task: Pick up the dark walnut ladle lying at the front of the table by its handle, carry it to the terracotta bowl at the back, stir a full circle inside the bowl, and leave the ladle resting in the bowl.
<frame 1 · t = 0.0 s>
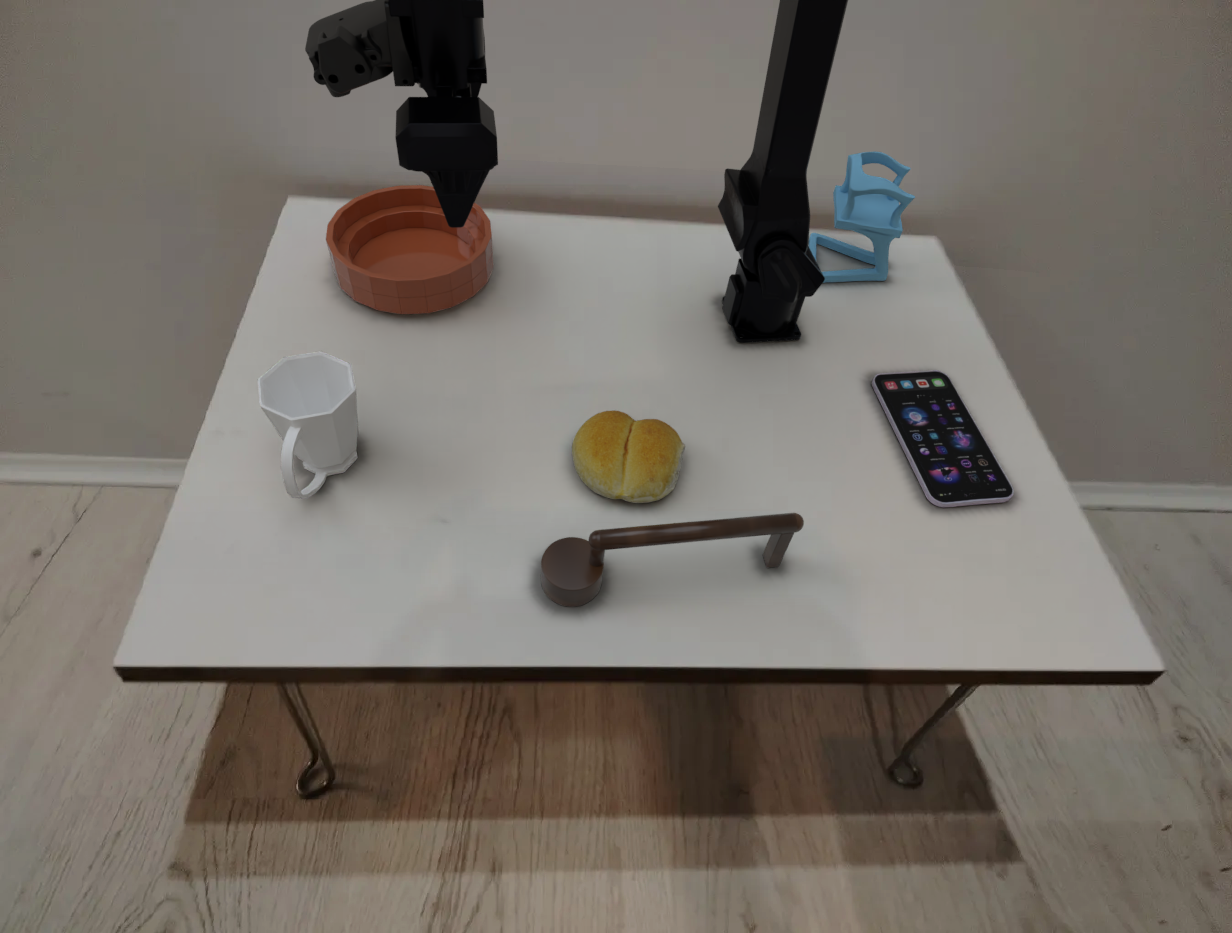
hand: (454, 191, 61), 15 cm above the table, tool pointing down, fingers open, 9 cm apart
bowl: (415, 268, 77), on the table
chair: (846, 267, 83), on the table
smartphone: (936, 437, 68), on the table
bread roll: (628, 466, 64), on the table
ladle: (571, 580, 57), on the table
cup: (325, 471, 61), on the table
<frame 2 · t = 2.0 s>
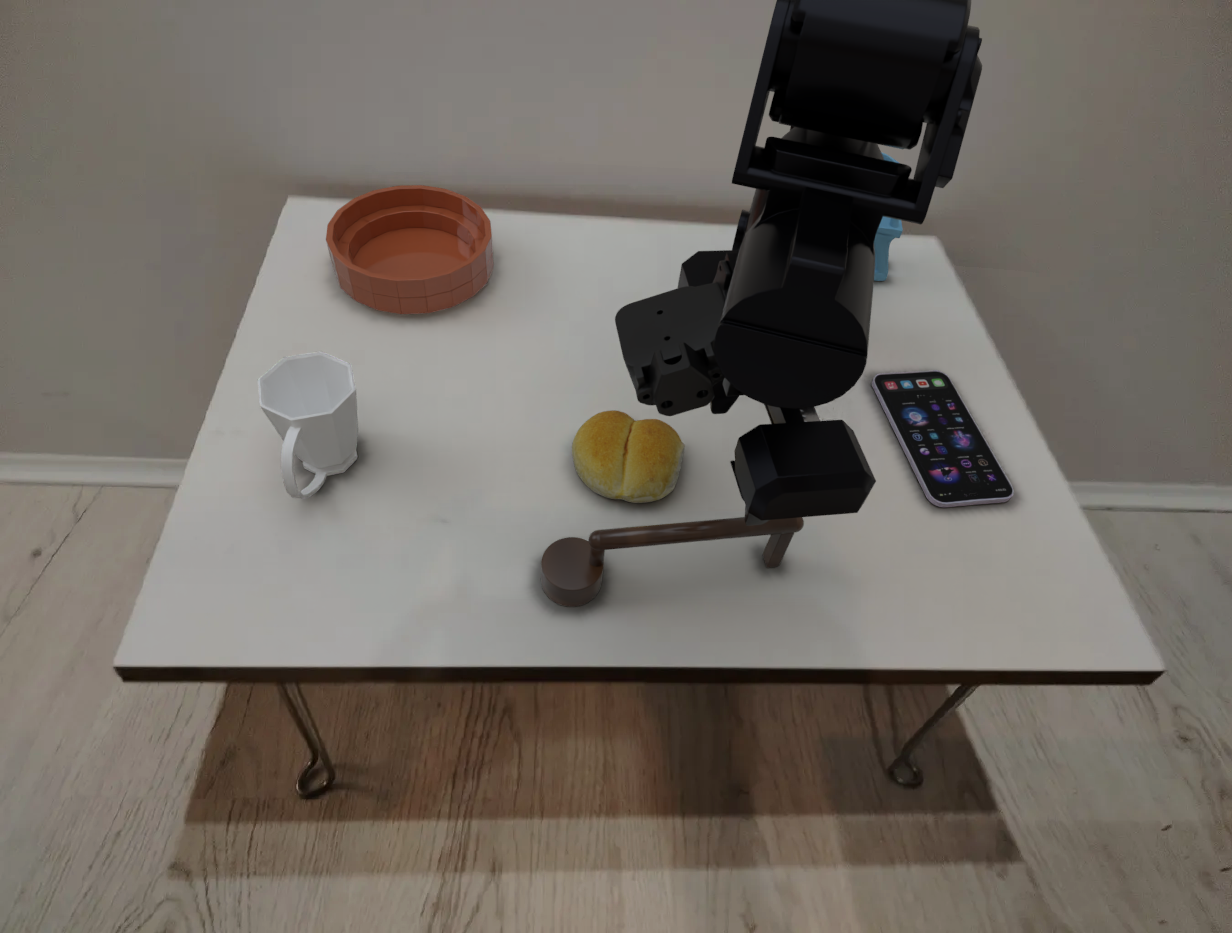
hand: (734, 464, 50), 11 cm above the table, tool pointing down, fingers open, 9 cm apart
nothing on the table moved.
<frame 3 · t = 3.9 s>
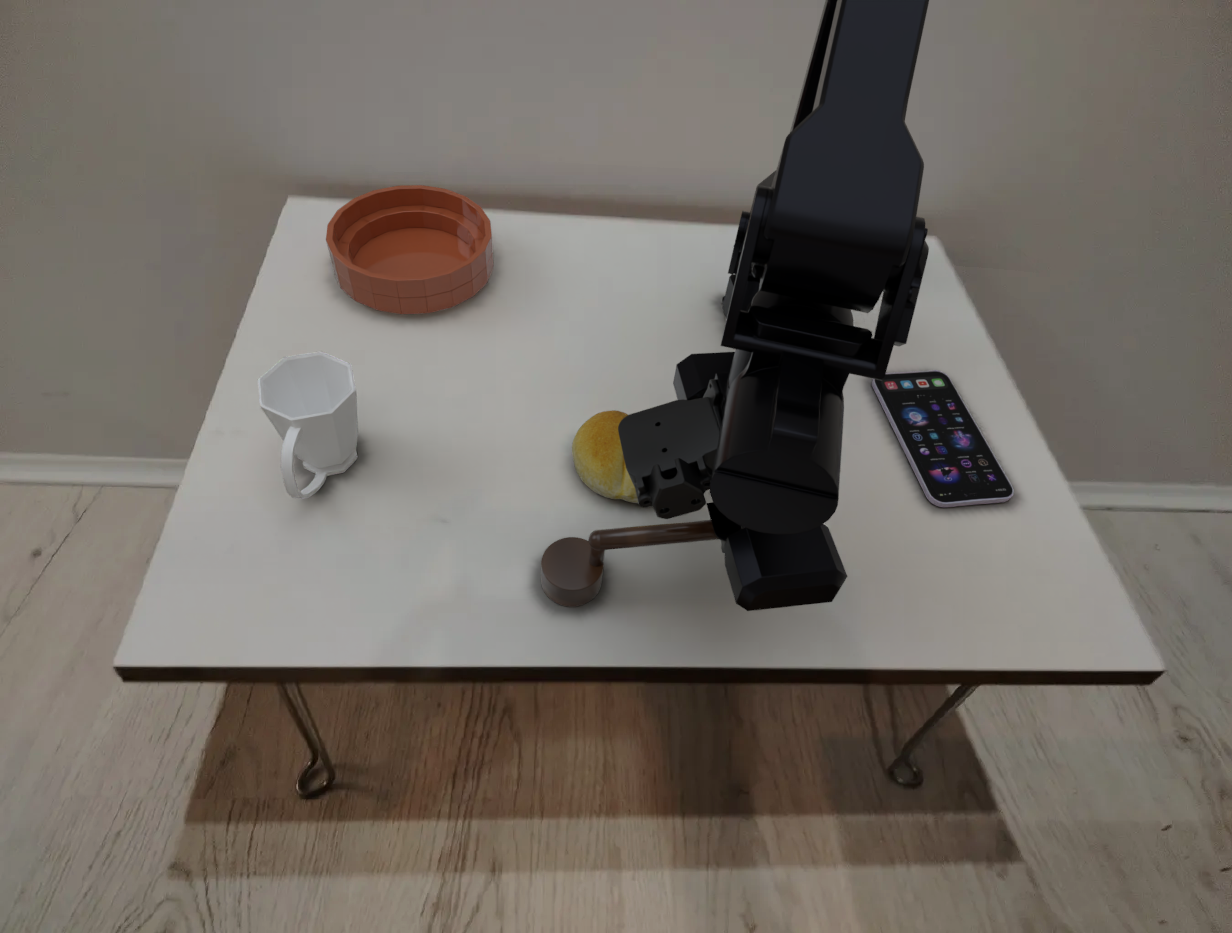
hand: (725, 540, 56), 3 cm above the table, tool pointing down, fingers closed on ladle
ladle: (571, 580, 56), on the table, touching gripper
everything else where it was.
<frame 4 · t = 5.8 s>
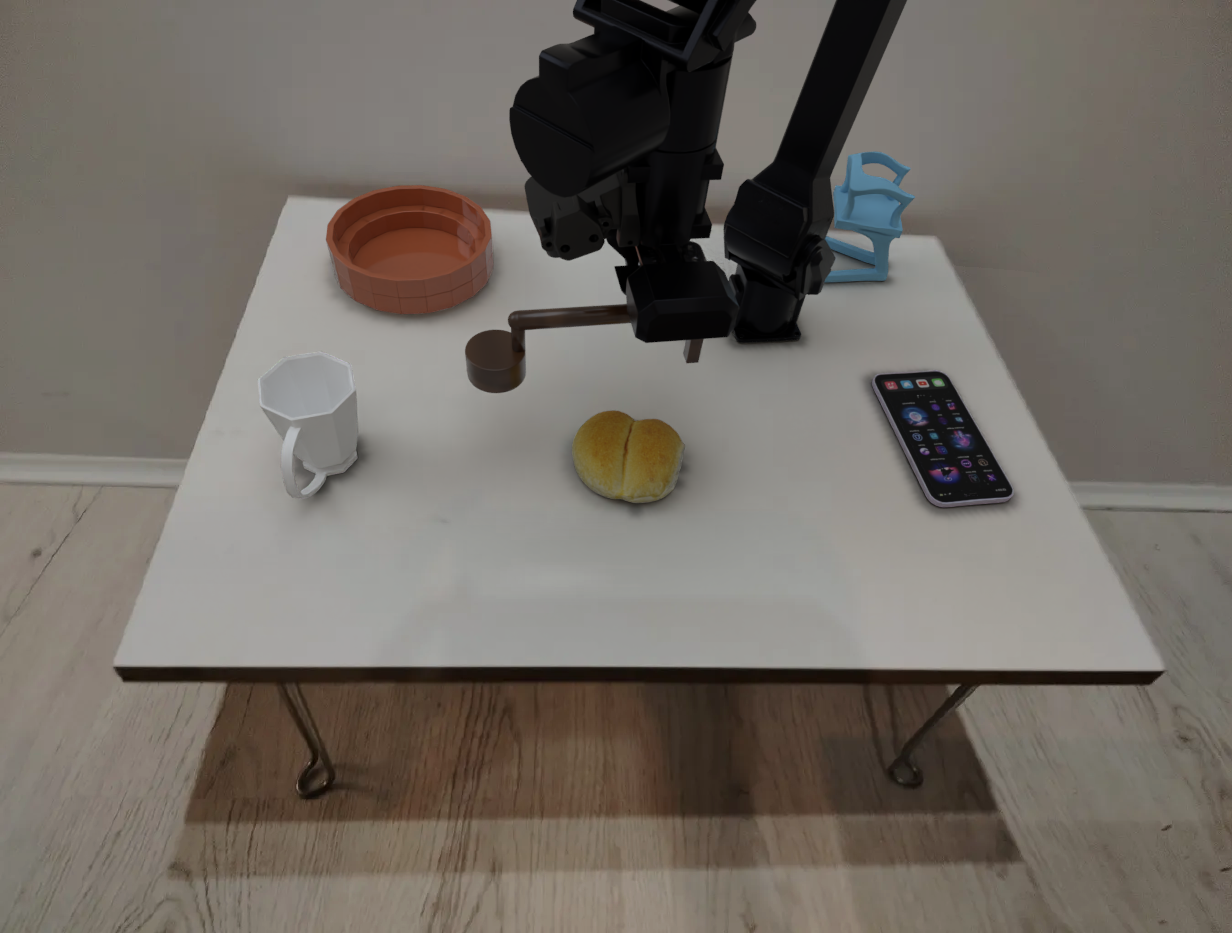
hand: (643, 328, 58), 11 cm above the table, tool pointing down, fingers closed on ladle
ladle: (496, 372, 59), point 7 cm above the table, touching gripper
everything else where it was.
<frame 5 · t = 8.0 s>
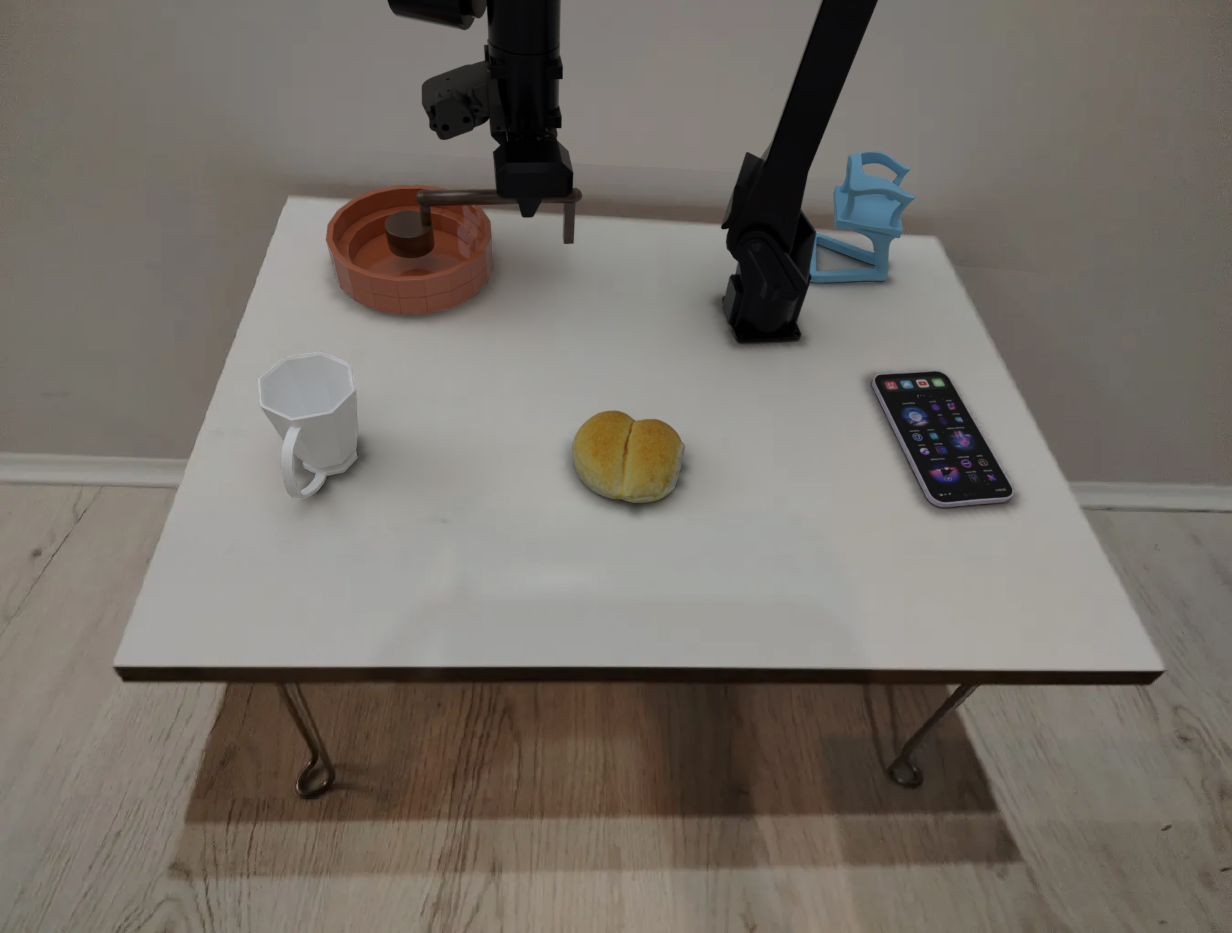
hand: (526, 211, 74), 6 cm above the table, tool pointing down, fingers closed on ladle
ladle: (411, 244, 75), point 3 cm above the table, touching gripper
everything else where it was.
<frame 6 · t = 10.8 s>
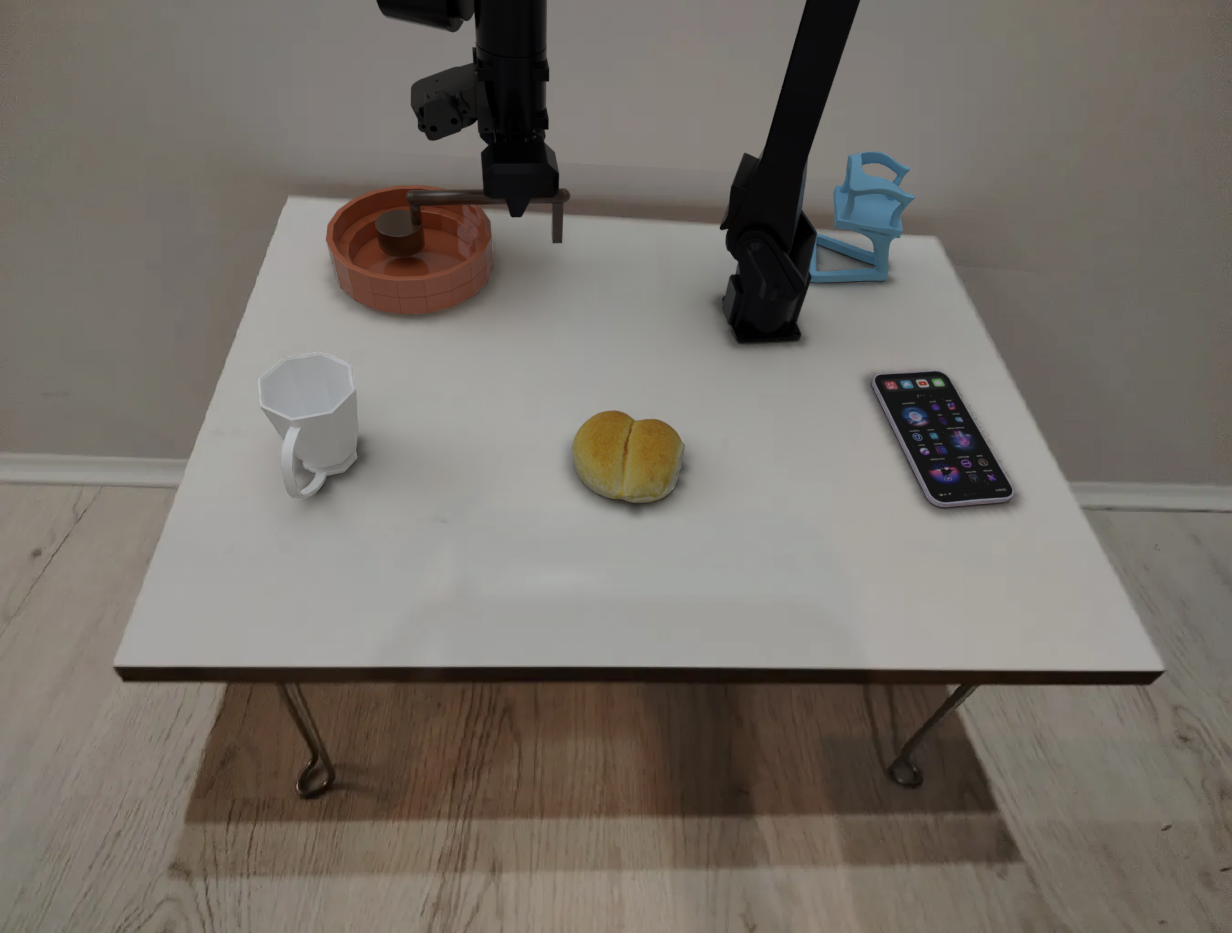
hand: (515, 211, 75), 6 cm above the table, tool pointing down, fingers closed on ladle
ladle: (402, 243, 76), point 2 cm above the table, touching gripper
everything else where it was.
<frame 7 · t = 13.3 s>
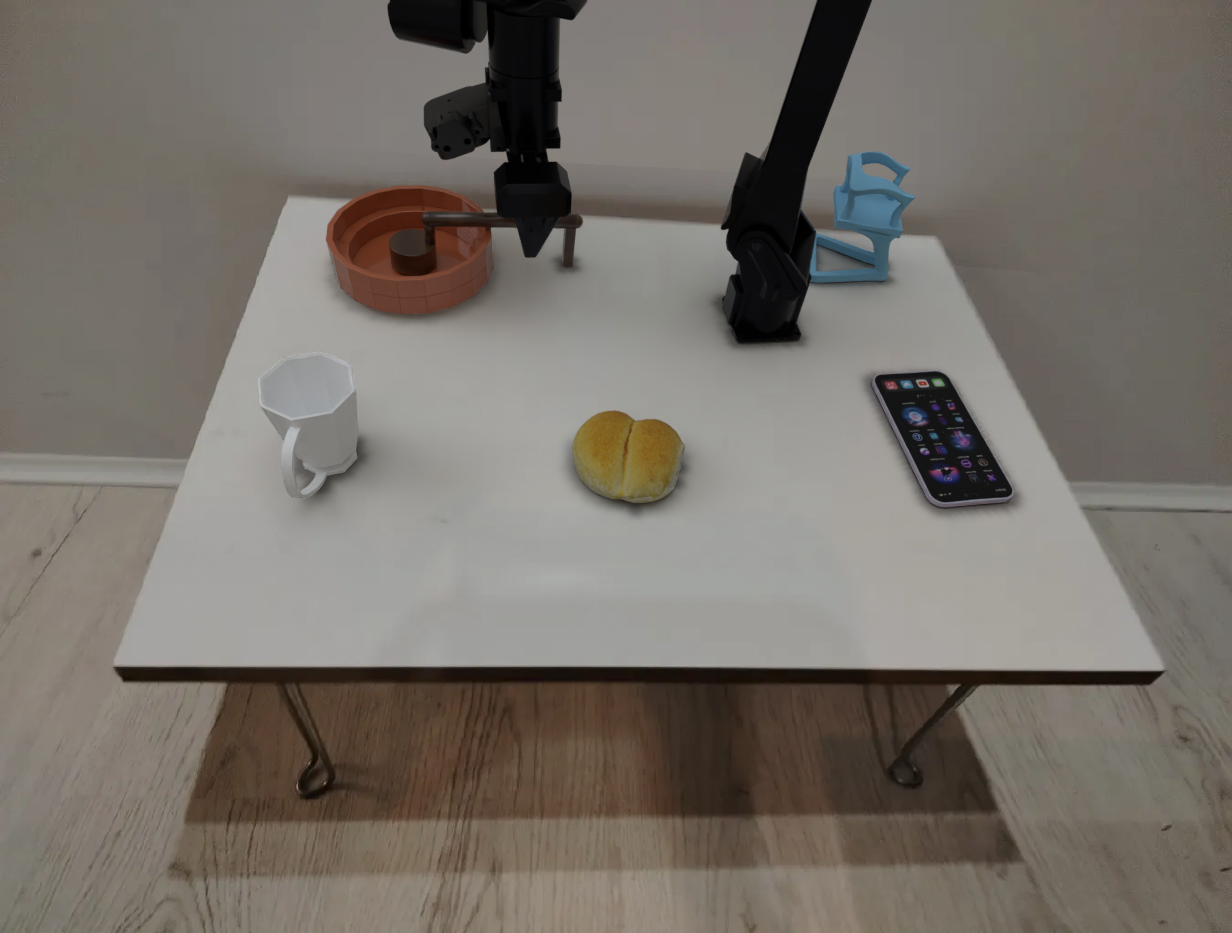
hand: (526, 227, 76), 4 cm above the table, tool pointing down, fingers open, 9 cm apart
ladle: (414, 262, 77), point 1 cm above the table, touching bowl
everything else where it was.
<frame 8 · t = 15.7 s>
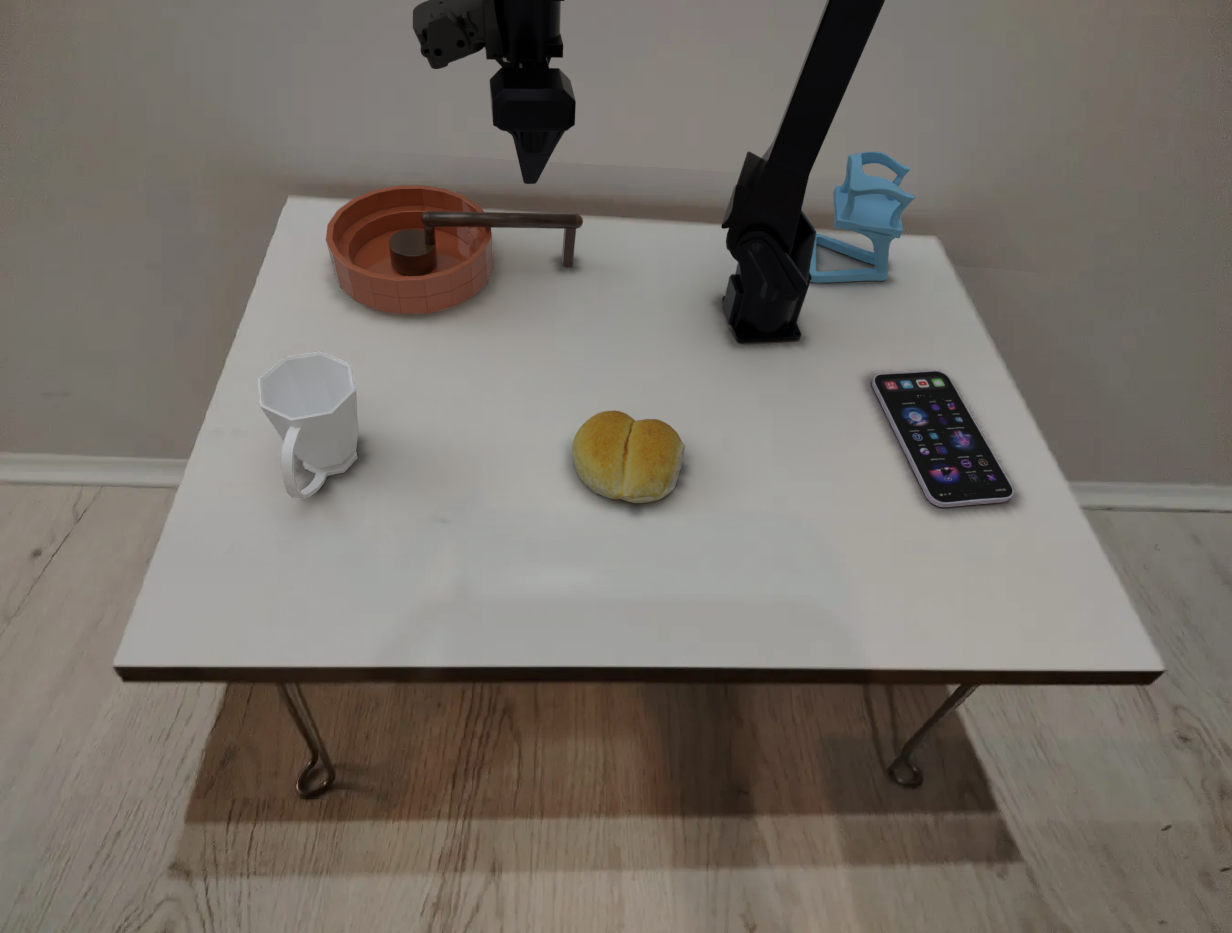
hand: (525, 154, 70), 12 cm above the table, tool pointing down, fingers open, 9 cm apart
nothing on the table moved.
at the end: ladle inside the target area in the bowl (0.1 cm from its centre), point 0.7 cm above the bowl's base; the gripper is holding nothing; ladle moved 38.7 cm from its start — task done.
